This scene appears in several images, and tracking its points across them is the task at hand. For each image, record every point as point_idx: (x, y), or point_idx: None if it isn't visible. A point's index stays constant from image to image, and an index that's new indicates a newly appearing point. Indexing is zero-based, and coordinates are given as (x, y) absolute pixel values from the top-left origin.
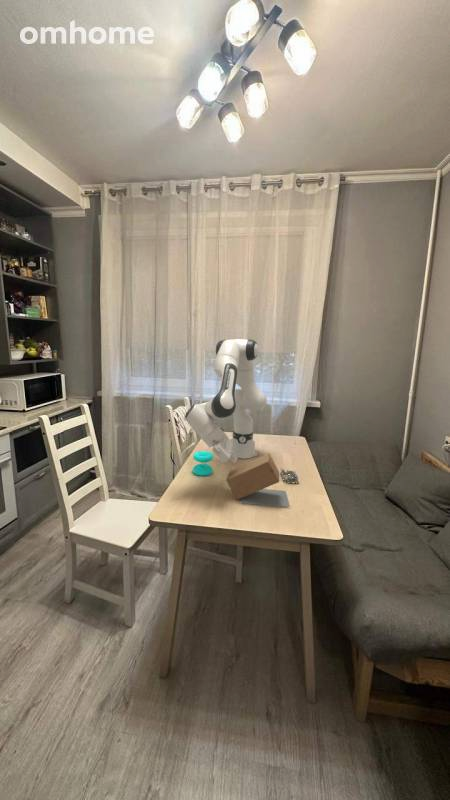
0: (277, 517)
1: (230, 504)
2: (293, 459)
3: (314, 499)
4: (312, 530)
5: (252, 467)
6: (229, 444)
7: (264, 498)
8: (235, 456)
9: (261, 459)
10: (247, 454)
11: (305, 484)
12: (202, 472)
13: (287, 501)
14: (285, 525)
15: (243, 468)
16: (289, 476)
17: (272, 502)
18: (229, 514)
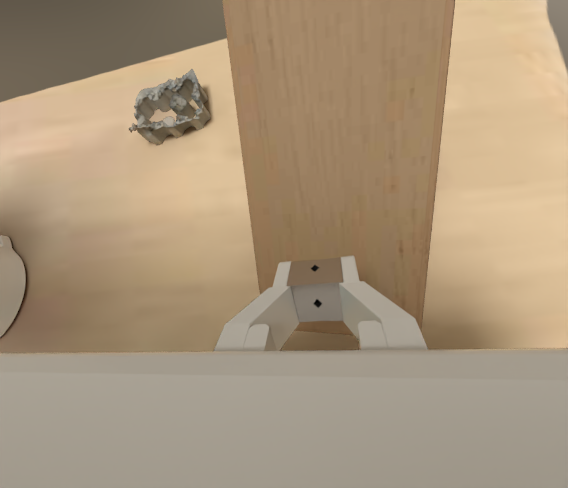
0: (467, 113)
1: (435, 296)
2: (42, 123)
3: None
4: (508, 13)
5: (428, 104)
6: (87, 436)
7: None
8: (285, 278)
9: (316, 21)
10: (2, 268)
11: (205, 71)
12: None
13: None
14: (516, 83)
15: (344, 212)
16: (179, 102)
17: None
18: (533, 290)
